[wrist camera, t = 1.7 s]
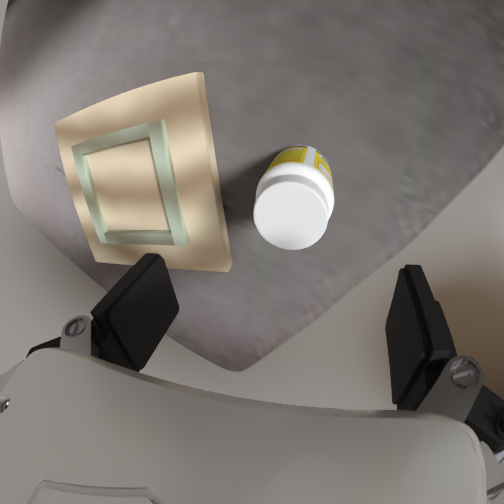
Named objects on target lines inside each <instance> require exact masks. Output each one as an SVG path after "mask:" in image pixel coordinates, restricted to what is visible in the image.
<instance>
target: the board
mask: <svg viewBox="0 0 504 504" xmlns="http://www.w3.org/2000/svg"><path fill="white" fill-rule="evenodd" d="M54 126H55V132H56V136H57V141H58V146H59V150H60V154H61V158H62V162H63V166H64V170H65V174H66V177H67V181H68V184H69V188H70V191H71V194H72V198H73V201H74V204H75V207H76V210H77V213H78V216H79V219H80V221H81V224H82V227H83V230H84V232H85V235H86V238H87V240H88V243H89V245H90V248H91V250H92V253H93V255H94V258H95V260H96V262H102V263H113V264H124V265H135V264H136V263H137V262H138V260H139V259H140V258H141V257H142V256H143V255H144V254H146V253H158V254H160V255H161V257H163V258H164V260H165V264H166V267H167V268H173V269H187V270H201V271H216V272H229V270H230V268H231V266H232V264H233V262H232V256H231V250H230V244H229V239H228V233H227V227H226V221H225V214H224V208H223V202H222V196H221V190H220V183H219V177H218V170H217V164H216V157H215V151H214V144H213V137H212V130H211V123H210V116H209V109H208V102H207V94H206V87H205V80H204V73H200V72H194V73H189V74H185V75H181V76H177V77H173V78H170V79H166V80H162V81H159V82H155V83H152V84H149V85H146V86H143V87H139V88H136V89H134V90H131V91H128V92H125V93H122V94H119V95H117V96H114V97H112V98H109V99H106V100H104V101H101V102H99V103H97V104H94V105H92V106H90V107H87V108H85V109H83V110H81V111H79V112H76V113H74V114H72V115H70V116H68V117H66V118H64V119H62V120H60V121H58V122H56V123H54Z"/></svg>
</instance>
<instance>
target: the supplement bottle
mask: <svg viewBox="0 0 504 504" xmlns="http://www.w3.org/2000/svg"><path fill="white" fill-rule="evenodd" d="M333 207H334V192H333V183H332V175H331V168H330V165H329V163H328V161H327V159H326V158H325V156H324V155H323V154H322V153H321V152H319V151H318V150H316V149H315V148H313V147H310V146H306V145H293V146H290V147H287V148H285V149H283V150H282V151H281V152H280V153H279V154H278V155H277V156H276V157H275V159H274V160H273V162H272V163H271V164H270V166H269V167H268V169H267V170H266V172H265V173H264V175H263V176H262V178H261V179H260V181H259V184H258V186H257V190H256V202H255V205H254V211H253V216H254V222H255V225H256V227H257V230H258V231H259V233H260V234H261V235H262V236H263V238H264V239H265V240H267V241H268V242H269V243H271V244H273V245H274V246H277V247H279V248H283V249H288V250H298V249H303V248H306V247H309V246H311V245H312V244H314V243H315V242H317V241H318V240H319V239H320V238H321V236H322V235H323V234H324V232H325V230H326V227H327V223H328V220H329V218H330V216H331V214H332V211H333Z"/></svg>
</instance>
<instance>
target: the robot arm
mask: <svg viewBox="0 0 504 504" xmlns="http://www.w3.org/2000/svg"><path fill="white" fill-rule="evenodd" d="M178 311H179V304H178V301H177V298H176V295H175V292H174V289H173V286H172V283H171V280H170V277H169V273H168V270H167V267H166V264H165V260H164V258H163V257H161V255H160V254H158V253H146V254H144V255H143V256H142V257H141V258H140V259H139V260H138V262H137V263H136V264H135V265H134V266H133V267H132V268H131V269H130V270H129V271H128V272H127V273H126V274H125V275H124V276H123V277H122V278H121V279H120V280H119V281H118V282H117V283H116V284H115V285H114V287H113V288H112V289H111V290H110V291H109V292H108V293H107V294H106V295H105V296H104V297H103V299H102V300H101V301H100V302H99V303H98V304H97V305H96V306H95V307H94V309H93V310H92V311H91V314H92V316H93V320H92V321H91V319H90V318H89V317H88V316H85V315H80V316H76V317H74V318H72V319H71V320H69V321H68V322H67V323H66V324H65V325H64V327H63V329H62V334H61V337H58V338H55V339H53V340H50V341H48V342H45V343H42V344H40V345H38V346H35V347H33V348H31V349H30V351H29V353H28V355H27V357H26V359H25V360H23V361H21V362H20V363H18V364H17V365H15V366H14V367H12V368H11V369H9V370H8V371H6V372H5V373H4V374H2V375H1V376H0V504H504V400H503V399H501V398H500V397H499V396H498V395H496V394H495V393H494V392H492V391H491V390H489V389H488V388H487V387H485V386H484V385H483V380H484V375H483V371H482V368H481V366H480V365H479V364H478V362H477V361H475V360H474V359H473V358H471V357H468V356H463V355H460V356H457V353H456V349H455V346H454V343H453V340H452V337H451V334H450V331H449V327H448V325H447V322H446V319H445V316H444V313H443V311H442V308H441V305H440V304H439V302H438V301H435V299H434V297H433V294H432V292H431V289H430V287H429V284H428V282H427V279H426V277H425V274H424V272H423V270H422V267H421V266H420V265H405V267H404V268H401V269H400V270H399V274H398V280H397V283H396V287H395V291H394V295H393V300H392V303H391V307H390V310H389V314H388V317H387V321H386V329H385V330H386V338H387V346H388V355H389V364H390V375H391V387H392V388H391V389H392V402H393V404H397V410H356V409H335V408H319V407H307V406H296V405H286V404H279V403H271V402H264V401H257V400H251V399H245V398H239V397H234V396H229V395H224V394H219V393H214V392H209V391H205V390H201V389H196V388H192V387H188V386H184V385H180V384H177V383H173V382H169V381H166V380H162V379H159V378H155V377H152V376H148V375H145V374H142V373H139V371H140V370H141V369H143V368H144V367H145V365H146V363H147V362H148V360H149V358H150V357H151V355H152V354H153V352H154V350H155V349H156V347H157V346H158V344H159V342H160V341H161V339H162V337H163V336H164V334H165V333H166V331H167V330H168V328H169V326H170V325H171V323H172V322H173V320H174V319H175V317H176V315H177V314H178Z"/></svg>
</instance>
